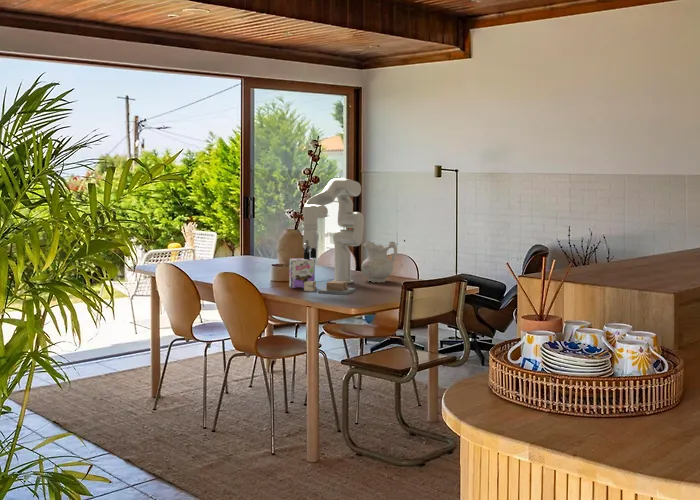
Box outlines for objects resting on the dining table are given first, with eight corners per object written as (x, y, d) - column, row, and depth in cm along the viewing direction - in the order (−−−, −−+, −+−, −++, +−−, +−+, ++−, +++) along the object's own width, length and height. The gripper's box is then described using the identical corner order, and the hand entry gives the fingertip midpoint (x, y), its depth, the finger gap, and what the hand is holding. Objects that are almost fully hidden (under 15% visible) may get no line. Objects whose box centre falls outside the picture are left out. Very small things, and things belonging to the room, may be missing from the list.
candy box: (291, 288, 475) (291, 259, 474) (288, 286, 481) (289, 258, 479) (314, 287, 479) (315, 259, 477) (312, 286, 484) (312, 258, 483)
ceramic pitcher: (397, 281, 518) (398, 241, 517) (396, 283, 498) (396, 241, 498) (362, 281, 520) (363, 240, 519) (360, 282, 500) (360, 240, 500)
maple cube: (307, 289, 471) (307, 280, 470) (315, 290, 469) (315, 281, 469) (304, 290, 466) (304, 281, 465) (312, 291, 464) (312, 282, 464)
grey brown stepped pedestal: (328, 289, 472) (328, 279, 472) (355, 290, 467) (355, 281, 467) (318, 293, 457) (318, 283, 457) (346, 294, 452) (346, 284, 452)
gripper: (309, 226, 474) (309, 257, 475) (298, 228, 457) (297, 259, 459) (322, 227, 471) (322, 257, 473) (310, 228, 455) (310, 260, 456)
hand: (310, 258), depth 466 cm, fingers open, 9 cm apart
